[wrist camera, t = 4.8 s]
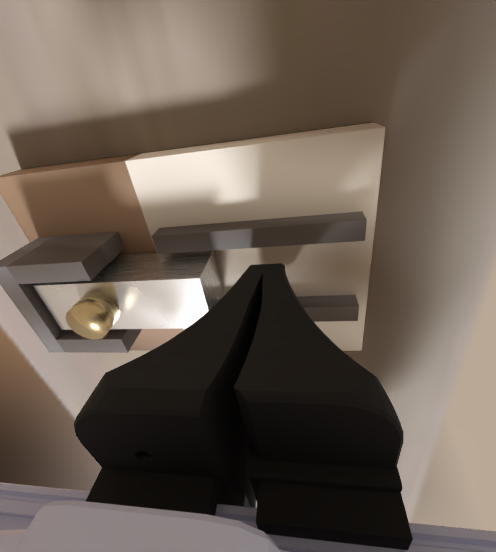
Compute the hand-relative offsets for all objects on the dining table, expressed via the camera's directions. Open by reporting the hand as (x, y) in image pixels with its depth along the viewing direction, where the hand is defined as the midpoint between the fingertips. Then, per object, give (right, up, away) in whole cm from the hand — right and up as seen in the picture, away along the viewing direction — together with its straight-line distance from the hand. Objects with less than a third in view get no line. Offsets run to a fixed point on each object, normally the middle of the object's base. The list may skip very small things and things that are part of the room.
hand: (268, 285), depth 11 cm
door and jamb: (-3, +1, +3) cm, 4 cm away
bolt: (-6, 0, +2) cm, 6 cm away
